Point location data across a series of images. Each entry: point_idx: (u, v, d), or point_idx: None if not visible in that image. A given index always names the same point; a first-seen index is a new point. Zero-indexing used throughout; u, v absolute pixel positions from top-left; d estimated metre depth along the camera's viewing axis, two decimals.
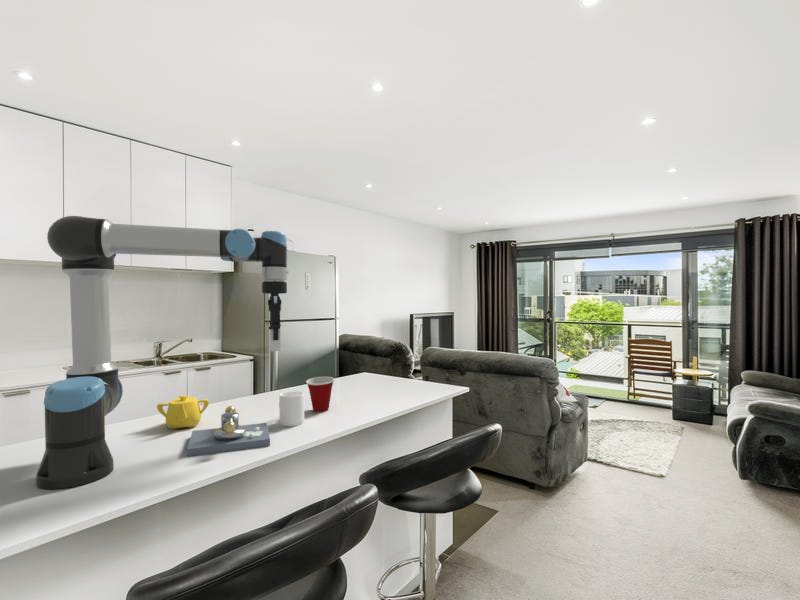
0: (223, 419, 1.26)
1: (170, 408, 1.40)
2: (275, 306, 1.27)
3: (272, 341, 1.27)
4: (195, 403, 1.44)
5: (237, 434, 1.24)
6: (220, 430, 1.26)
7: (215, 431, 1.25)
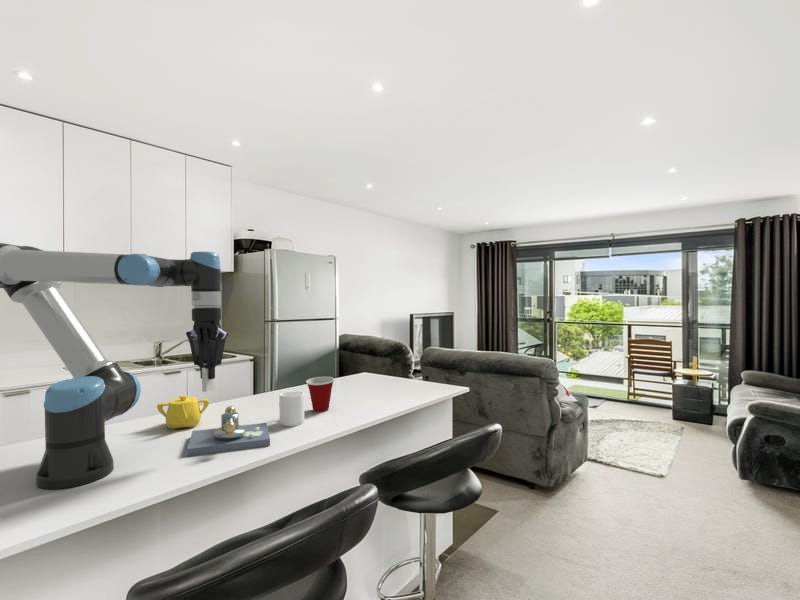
0: (223, 419, 1.26)
1: (170, 408, 1.40)
2: None
3: None
4: (195, 403, 1.44)
5: (237, 434, 1.24)
6: (220, 430, 1.26)
7: (215, 431, 1.25)
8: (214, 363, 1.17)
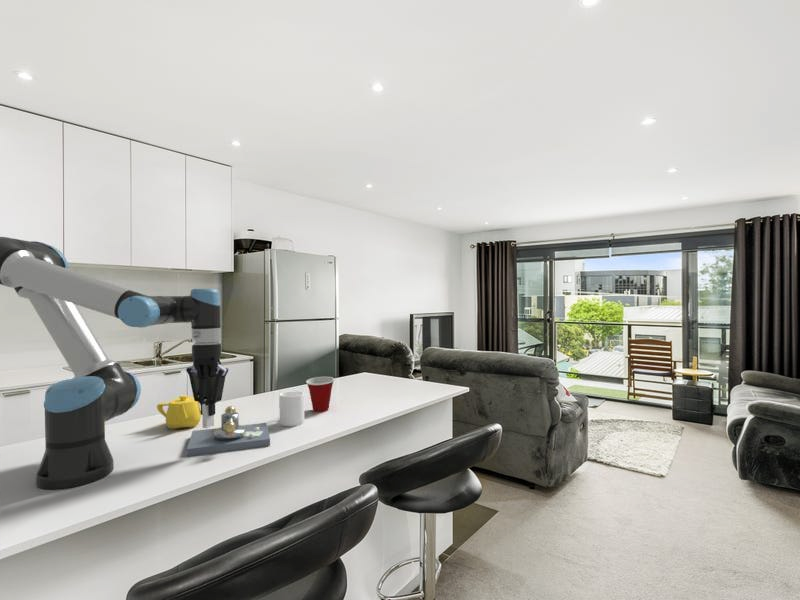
0: (223, 419, 1.26)
1: (170, 408, 1.40)
2: None
3: None
4: (195, 403, 1.44)
5: (237, 434, 1.24)
6: (220, 430, 1.26)
7: (215, 431, 1.25)
8: (214, 400, 1.17)
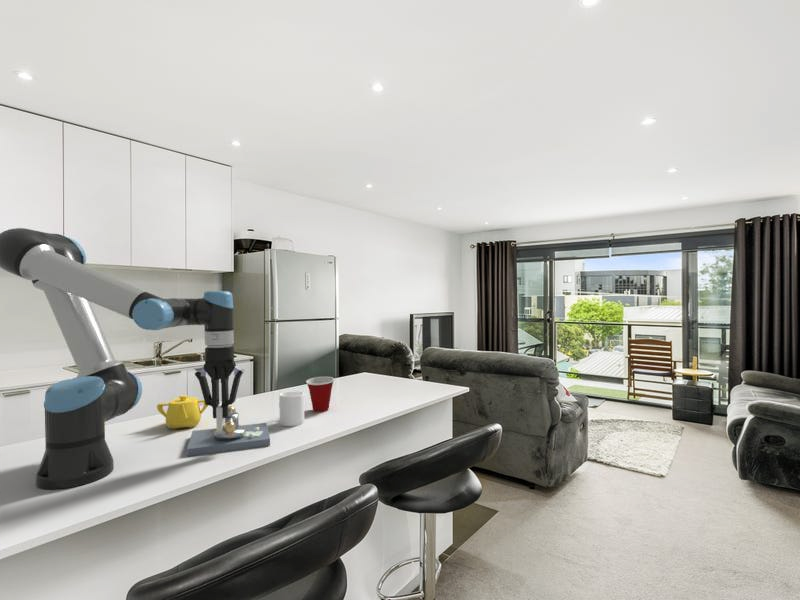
0: None
1: (170, 408, 1.40)
2: None
3: None
4: (195, 403, 1.44)
5: (237, 434, 1.24)
6: None
7: (215, 431, 1.25)
8: (232, 401, 1.19)
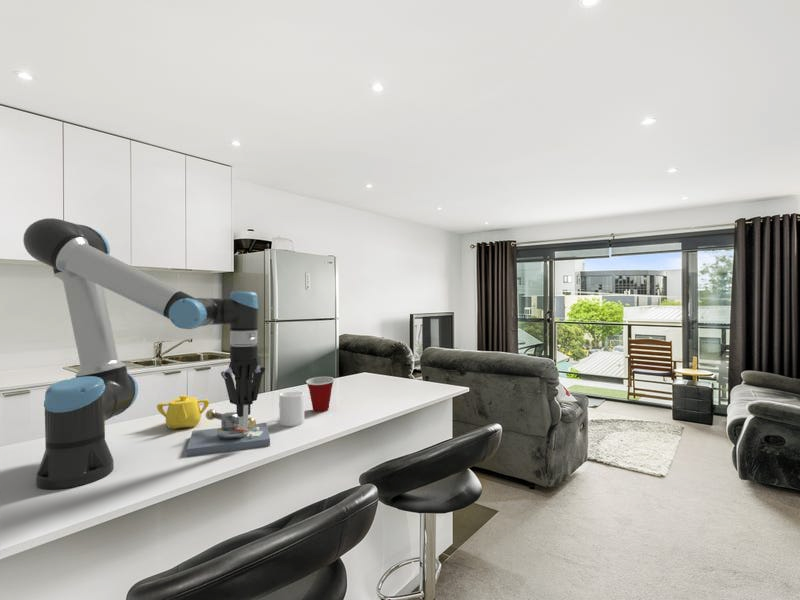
0: (228, 419, 1.26)
1: (170, 408, 1.40)
2: (227, 383, 1.18)
3: (239, 416, 1.22)
4: (195, 403, 1.44)
5: (247, 430, 1.27)
6: (224, 431, 1.25)
7: (222, 432, 1.24)
8: (256, 397, 1.24)
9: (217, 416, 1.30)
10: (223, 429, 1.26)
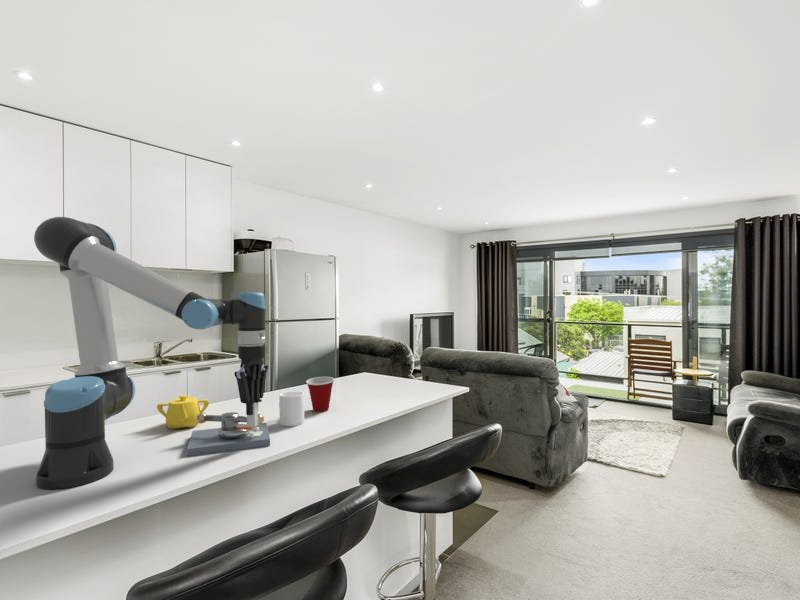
0: (231, 419, 1.26)
1: (170, 408, 1.40)
2: (240, 382, 1.19)
3: (248, 415, 1.24)
4: (195, 403, 1.44)
5: None
6: (228, 431, 1.25)
7: (228, 432, 1.24)
8: (262, 395, 1.27)
9: (213, 418, 1.28)
10: (226, 429, 1.26)
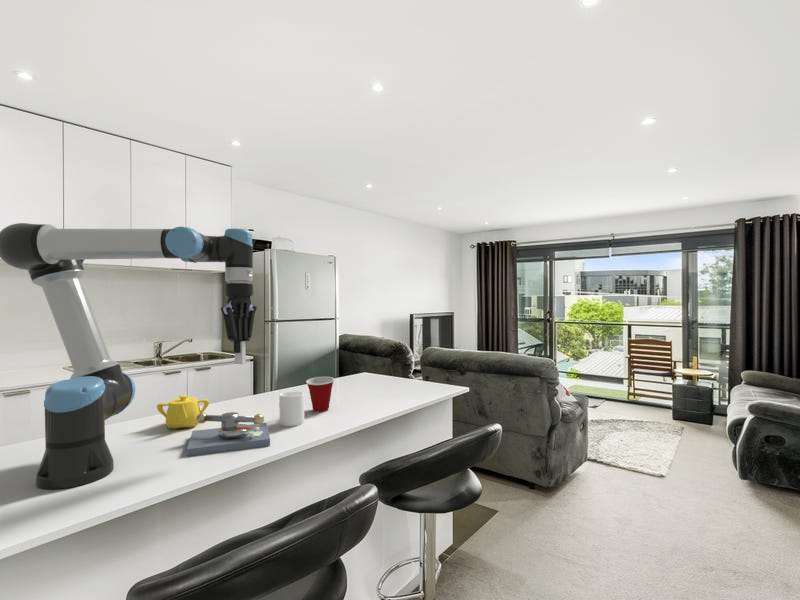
0: (231, 419, 1.26)
1: (170, 408, 1.40)
2: (227, 318, 1.18)
3: (235, 353, 1.23)
4: (195, 403, 1.44)
5: None
6: (228, 431, 1.25)
7: (228, 432, 1.24)
8: (250, 335, 1.26)
9: (213, 418, 1.28)
10: (226, 429, 1.26)
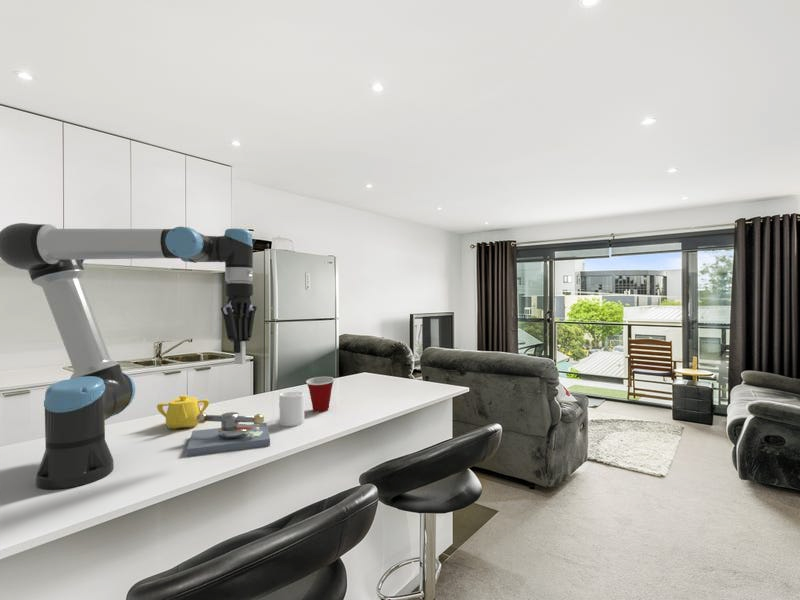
0: (231, 419, 1.26)
1: (170, 408, 1.40)
2: (227, 318, 1.19)
3: (235, 353, 1.23)
4: (195, 403, 1.44)
5: None
6: (228, 431, 1.25)
7: (228, 432, 1.24)
8: (250, 335, 1.26)
9: (213, 418, 1.28)
10: (226, 429, 1.26)
